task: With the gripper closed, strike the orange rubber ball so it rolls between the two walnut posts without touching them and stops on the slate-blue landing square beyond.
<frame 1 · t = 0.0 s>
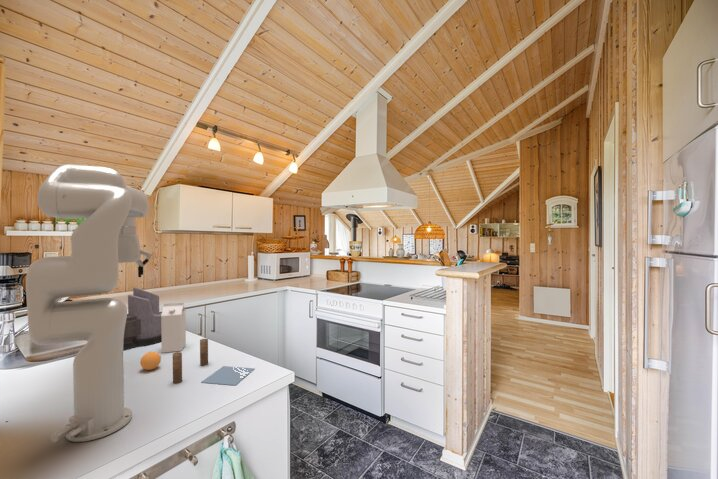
hand: (124, 277, 115), 31 cm above the counter, tool pointing down, fingers open, 9 cm apart
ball: (150, 360, 109), on the counter
milk carton: (174, 349, 128), on the counter
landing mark: (229, 375, 104), on the counter
outer post: (204, 364, 113), on the counter
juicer: (132, 345, 133), on the counter
inner post: (177, 381, 100), on the counter
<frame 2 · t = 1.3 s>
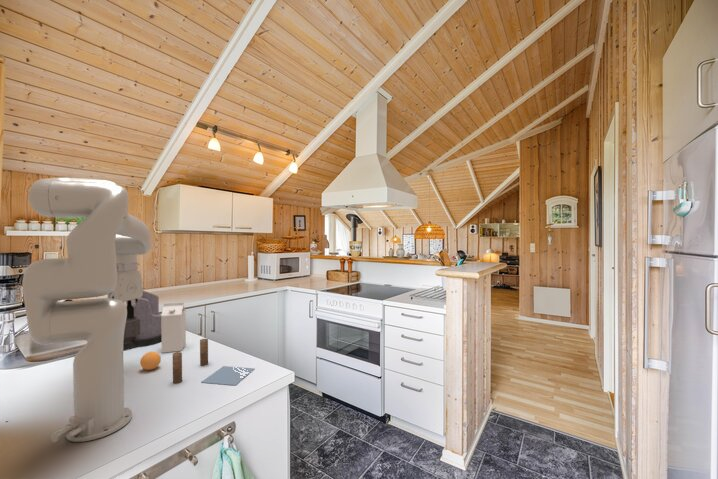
hand: (125, 319, 110), 17 cm above the counter, tool pointing down, fingers closed
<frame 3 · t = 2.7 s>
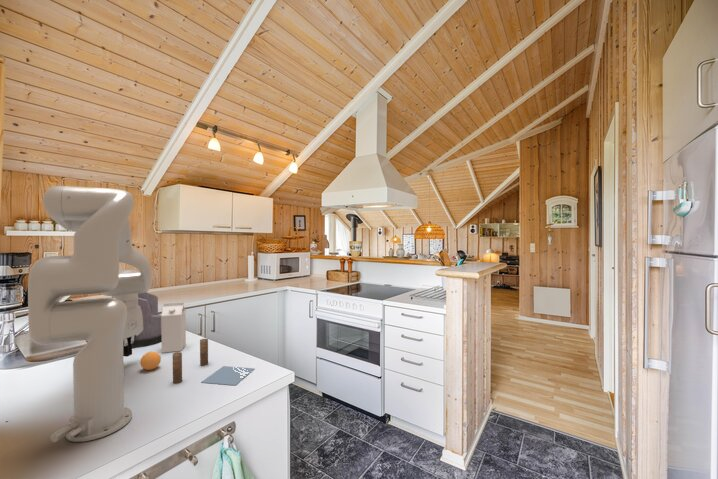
hand: (126, 355, 111), 4 cm above the counter, tool pointing down, fingers closed
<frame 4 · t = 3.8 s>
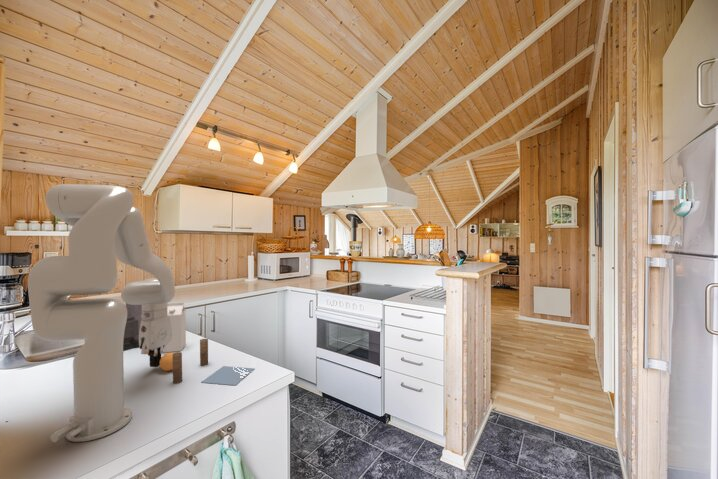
hand: (155, 365, 108), 1 cm above the counter, tool pointing down, fingers closed
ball: (169, 361, 108), on the counter
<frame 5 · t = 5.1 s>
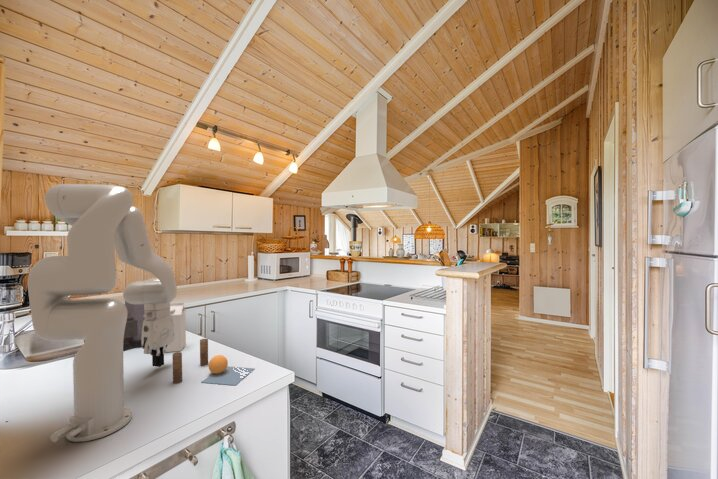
hand: (158, 365, 108), 2 cm above the counter, tool pointing down, fingers closed
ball: (218, 364, 106), on the counter
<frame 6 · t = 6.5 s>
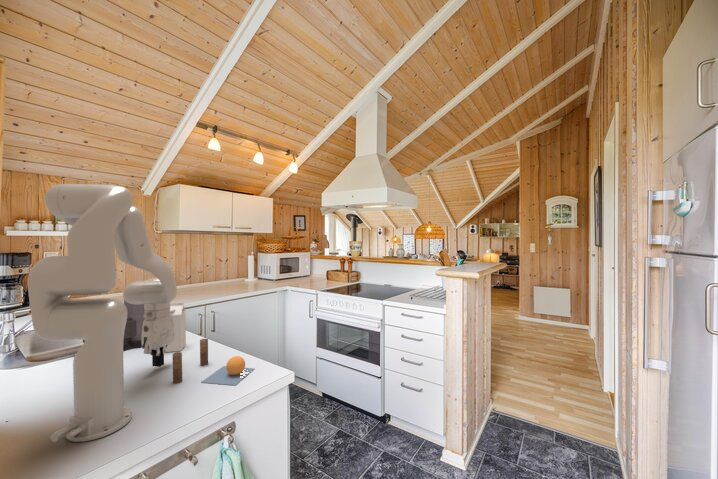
hand: (158, 365, 108), 2 cm above the counter, tool pointing down, fingers closed
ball: (235, 365, 105), on the counter
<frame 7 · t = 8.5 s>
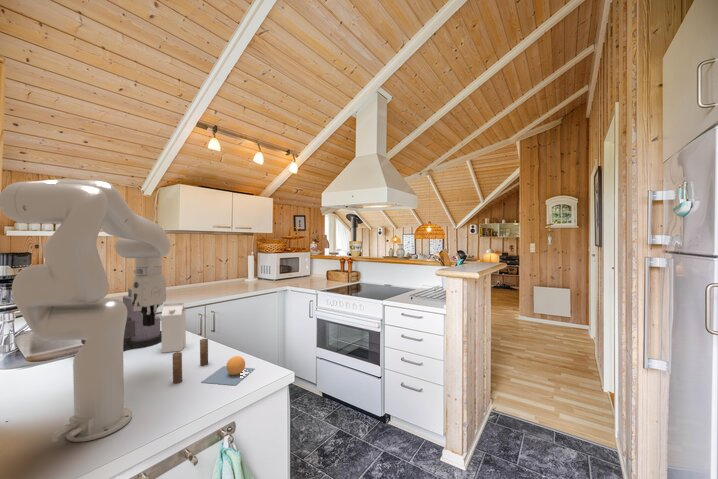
hand: (148, 325, 106), 16 cm above the counter, tool pointing down, fingers closed
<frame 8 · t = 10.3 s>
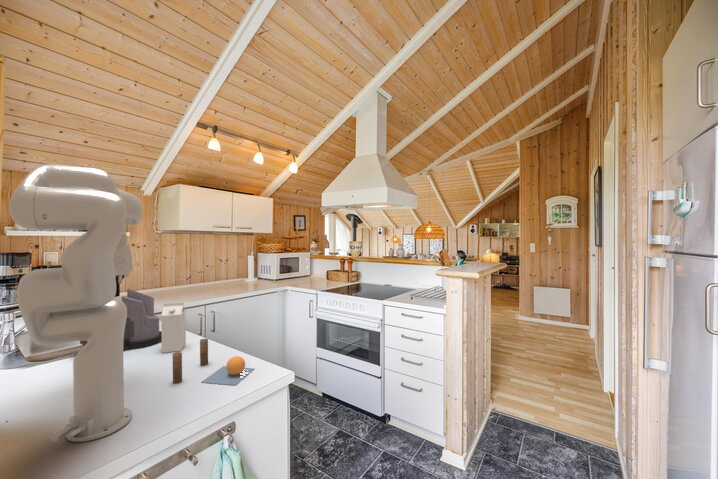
hand: (113, 296, 101), 27 cm above the counter, tool pointing down, fingers closed
at the end: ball 2.1 cm from the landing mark (horizontally); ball never touched inner post; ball never touched outer post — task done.
